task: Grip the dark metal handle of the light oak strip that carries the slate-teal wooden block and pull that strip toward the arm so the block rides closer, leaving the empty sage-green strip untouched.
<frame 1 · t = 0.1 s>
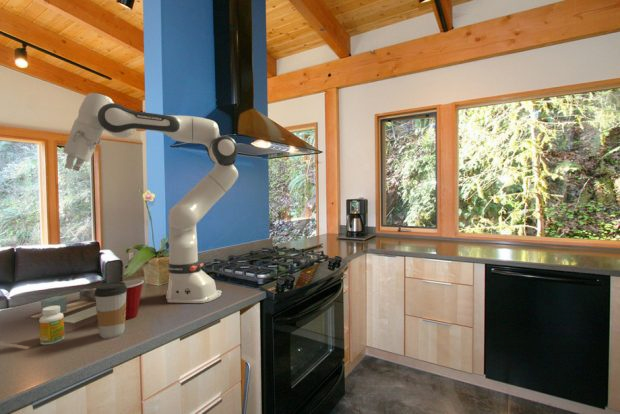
hand: (71, 169, 113), 52 cm above the worktop, tool tilted 20°, fingers open, 8 cm apart
supplement bottle: (52, 341, 89), on the worktop
plastic cup: (127, 317, 107), on the worktop
teal block: (54, 312, 109), point 1 cm above the worktop, touching oak strip
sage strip: (93, 306, 111), point 2 cm above the worktop, slide at 0.0 cm
oak strip: (68, 303, 114), point 2 cm above the worktop, slide at 0.0 cm, touching teal block
coffee cup: (112, 334, 93), on the worktop
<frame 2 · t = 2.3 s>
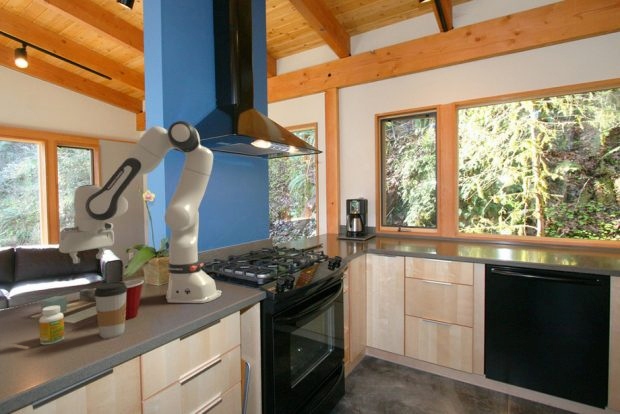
hand: (88, 260, 121), 17 cm above the worktop, tool pointing down, fingers open, 8 cm apart
nothing on the worktop moved.
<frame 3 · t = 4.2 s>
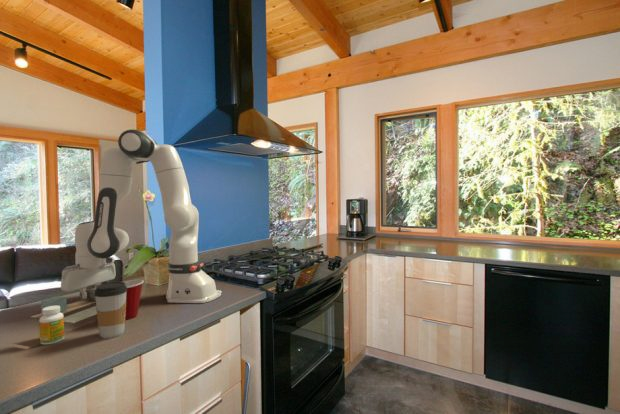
hand: (90, 296, 122), 2 cm above the worktop, tool pointing down, fingers closed on oak strip, 2 cm apart
oak strip: (68, 303, 114), point 2 cm above the worktop, slide at 0.0 cm, touching gripper, teal block
everything else where it was.
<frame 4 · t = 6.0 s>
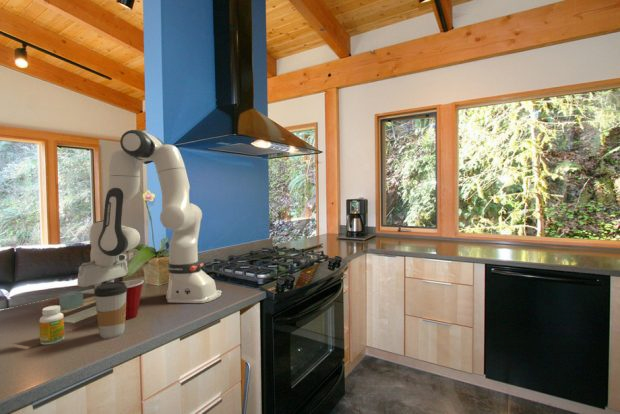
hand: (104, 291, 128), 2 cm above the worktop, tool pointing down, fingers closed on oak strip, 2 cm apart
teal block: (71, 306, 115), point 1 cm above the worktop, touching oak strip
oak strip: (84, 298, 120), point 2 cm above the worktop, slide at 6.1 cm, touching gripper, teal block
everything else where it was.
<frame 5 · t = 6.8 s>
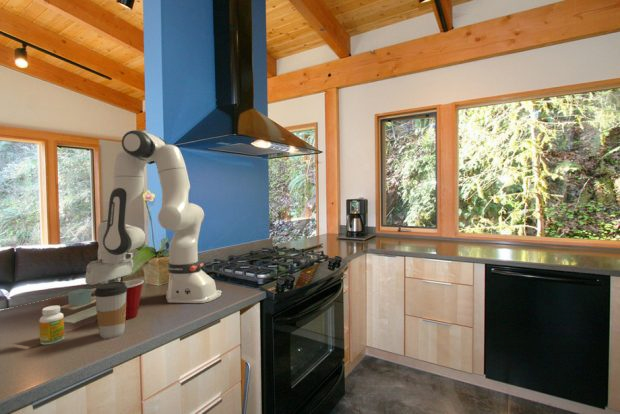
hand: (111, 289, 131), 2 cm above the worktop, tool pointing down, fingers closed on oak strip, 2 cm apart
teal block: (80, 303, 118), point 1 cm above the worktop, touching oak strip
oak strip: (92, 295, 123), point 2 cm above the worktop, slide at 9.3 cm, touching gripper, teal block
everything else where it was.
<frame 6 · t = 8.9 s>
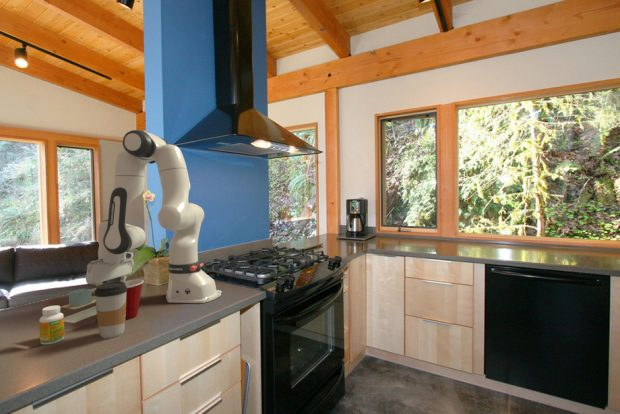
hand: (112, 289, 131), 2 cm above the worktop, tool pointing down, fingers open, 8 cm apart
oak strip: (92, 295, 123), point 2 cm above the worktop, slide at 9.5 cm, touching teal block
everything else where it was.
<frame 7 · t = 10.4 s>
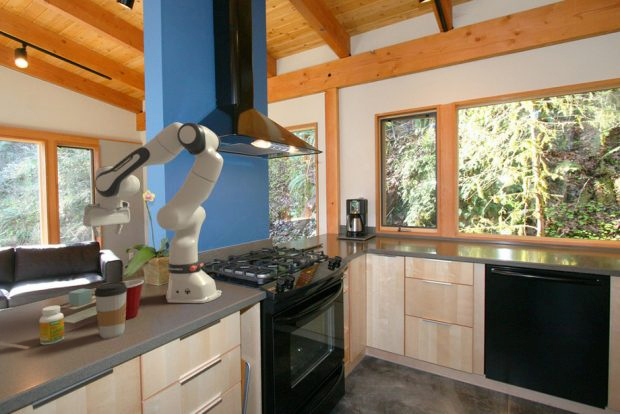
hand: (108, 235, 134), 25 cm above the worktop, tool pointing down, fingers open, 8 cm apart
nothing on the worktop moved.
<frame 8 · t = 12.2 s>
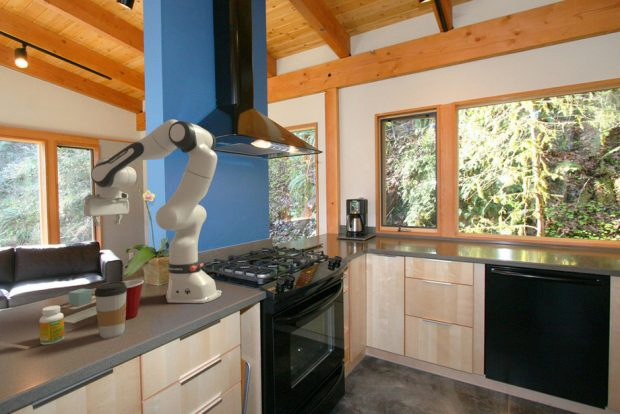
hand: (108, 225, 139), 29 cm above the worktop, tool pointing down, fingers open, 8 cm apart
nothing on the worktop moved.
at the end: oak strip slide at 9.5 cm; teal block inside the target area (0.0 cm from its centre), point 0.7 cm above the worktop; teal block tilted 0° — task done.
